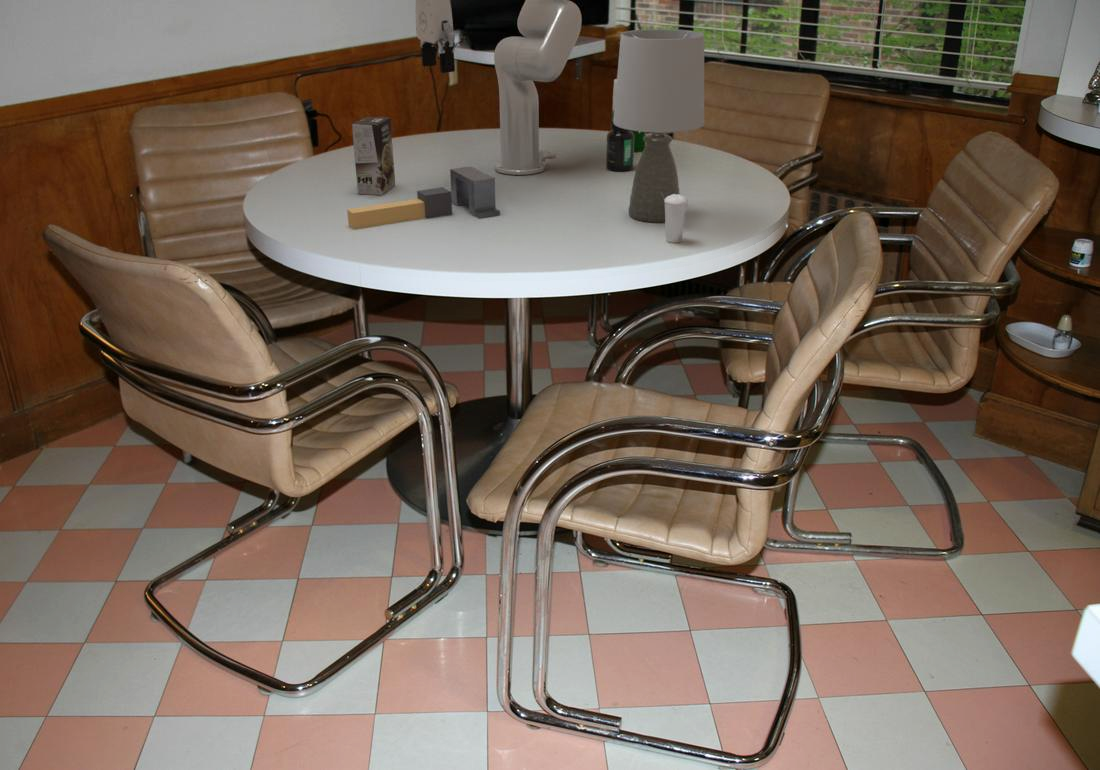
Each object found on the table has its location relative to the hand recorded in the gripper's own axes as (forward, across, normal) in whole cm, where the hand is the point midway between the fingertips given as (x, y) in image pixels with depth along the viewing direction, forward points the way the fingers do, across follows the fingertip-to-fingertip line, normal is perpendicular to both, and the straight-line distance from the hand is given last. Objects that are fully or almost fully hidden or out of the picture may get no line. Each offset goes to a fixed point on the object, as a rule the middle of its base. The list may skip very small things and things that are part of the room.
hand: (438, 68), depth 217 cm
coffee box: (+28, -10, -13) cm, 32 cm away
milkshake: (+28, +56, +23) cm, 67 cm away
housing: (+28, +15, 0) cm, 31 cm away
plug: (+27, +15, -18) cm, 36 cm away
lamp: (+28, +40, +30) cm, 58 cm away
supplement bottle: (+29, +2, +47) cm, 55 cm away
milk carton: (+29, -15, +61) cm, 69 cm away
